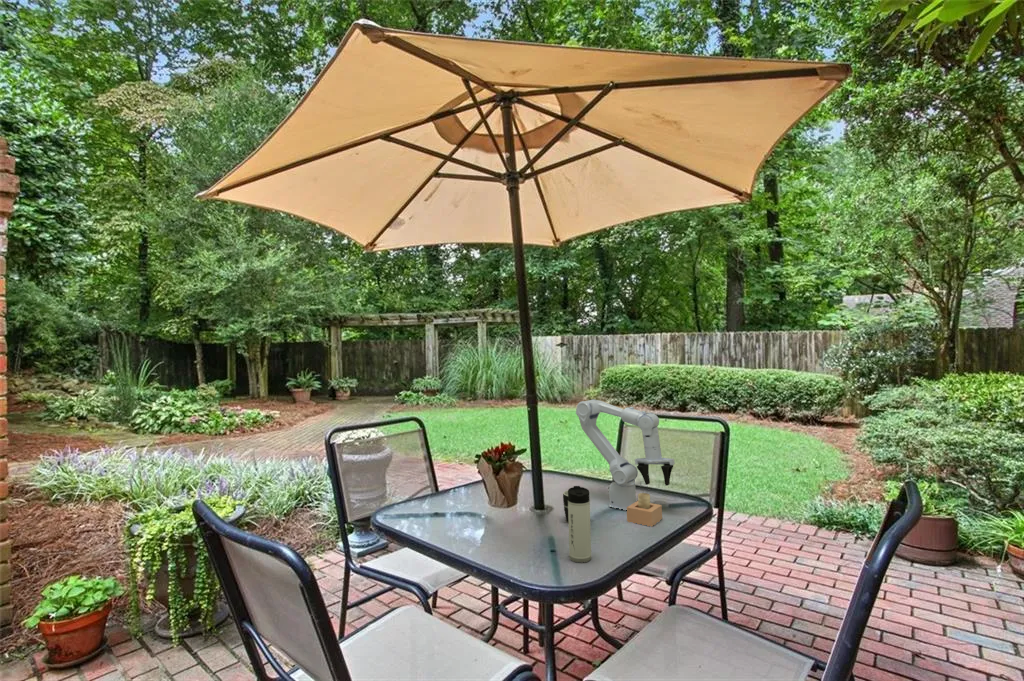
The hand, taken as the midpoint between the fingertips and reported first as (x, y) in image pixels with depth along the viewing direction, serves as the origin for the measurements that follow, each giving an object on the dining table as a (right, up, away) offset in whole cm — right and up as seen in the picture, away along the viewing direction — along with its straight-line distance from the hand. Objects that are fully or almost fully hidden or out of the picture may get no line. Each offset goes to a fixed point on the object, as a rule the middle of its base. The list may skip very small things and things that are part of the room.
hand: (657, 484), depth 178 cm
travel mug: (-33, -11, -36) cm, 50 cm away
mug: (-30, -11, -8) cm, 33 cm away
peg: (-7, -10, -7) cm, 14 cm away
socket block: (-7, -11, -7) cm, 14 cm away
